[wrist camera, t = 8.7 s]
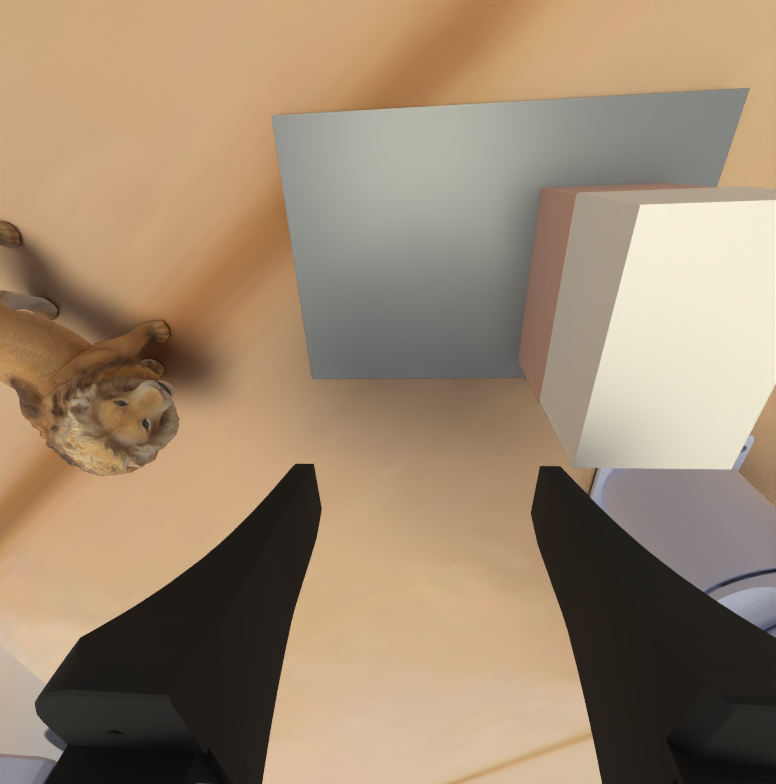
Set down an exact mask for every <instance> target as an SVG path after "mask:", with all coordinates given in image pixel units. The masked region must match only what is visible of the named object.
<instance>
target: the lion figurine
mask: <svg viewBox="0 0 776 784" xmlns="http://www.w3.org/2000/svg"><path fill="white" fill-rule="evenodd" d="M19 239H20V236H19V233H18V232H17V230H16V229H15V228H14V227H13V226H12V225H10V224H8V223H6V222H2V221H0V245H2V246H4V247H7V248H12V247H15V246H17V245H19V244H20V240H19ZM20 309H26V310H30V311H32V312H34V313H35V314H33V313H30V312H26V311H18V310H20ZM57 314H58V310H57V309H56V307H55V306H54V305H53V304H52V303H51V302H50V301H48V300H46V299H44V298H41V297H35V296H28V295H23V294H18V293H13V292H9V291H4V290H2V291H0V381H2V382H4V383H5V384H7V385H9V386H10V387H12V388H13V389H15V390H16V392H17V394H18V396H19V399H20V408H21V412H22V414H23V416H24V417H25V418H26V419H27V420H28V421H30V422H31V424H32V426H33V427H34V428H36V429H38V430H39V431H40V436H41V437H42V438H43V439H47V441H46V445H47V446H48V447H49V448H52V449H53V451H54V452H55V453H58V454H59V455H60V456H61V458H62V459H63V460H65V461H67V462H68V464H69V465H73V466H78V467H80V469H81V470H83V471H85V472H89V473H91V474H94V475H98V476H109V475H118V474H125V473H130V472H133V471H135V470H137V469H139V468H141V467H143V466H144V465H145V464H148V463H150V462H152V461H154V460H155V459H156V456H157V454H158V451H159V450H161V449H163V448H164V447H165V446H166V445H167V444H168V443H169V442H170V441H171V440H172V438H174V437H175V435H176V434H177V430H178V427H179V417H178V415H177V411H176V407H175V405H174V402H173V400H172V395H173V387H172V386H171V385H170V384H169V383H168V382H166V381H161V379H160V376H162V375H163V371H164V367H163V366H162V365H161V364H160V363H159V362H157V361H155V360H152V359H145V360H142V361H139V362H138V361H135V360H134V359H135V357H136V355H137V354H138V352H139V351H140V350H141V349H142V348H143V346H144V345H146V344H149V343H150V342H152V341H156V342H164V341H166V339H167V338H169V337H170V333H169V329H168V327H167V326H166V324H165V322H164V321H160V320H154V321H148V322H145V323H143V324H141V325H140V326H138V327H137V328H135V329H133V330H132V331H131V332H130V333H127V334H124V335H122V336H119V337H116V338H113V339H109V340H102V341H99V342H96V343H94V344H93V345H91V344H90V343H89V342H87V341H86V340H84V339H83V338H81V337H80V336H79V335H77V334H76V333H74V332H73V331H71V330H69V329H68V328H66V327H64V326H62V325H60V324H58V323H56V322H54V321H51V320H54V319H55V318H56V316H57Z"/></svg>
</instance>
